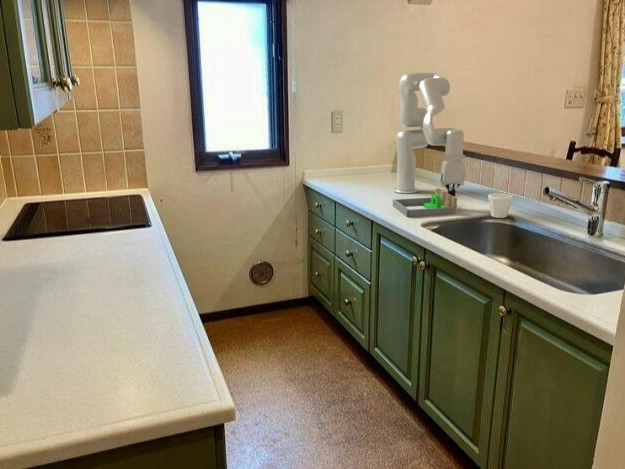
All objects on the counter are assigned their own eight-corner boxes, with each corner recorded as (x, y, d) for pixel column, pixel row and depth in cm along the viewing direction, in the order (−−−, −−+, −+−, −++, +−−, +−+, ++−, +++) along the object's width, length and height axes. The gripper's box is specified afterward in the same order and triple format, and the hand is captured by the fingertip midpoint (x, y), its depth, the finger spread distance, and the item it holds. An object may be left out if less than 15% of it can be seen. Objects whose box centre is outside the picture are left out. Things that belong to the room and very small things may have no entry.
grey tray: (392, 205, 247) (392, 199, 246) (434, 203, 250) (435, 197, 249) (407, 217, 227) (407, 210, 226) (452, 214, 230) (453, 207, 229)
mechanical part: (448, 212, 233) (449, 195, 231) (436, 213, 232) (437, 196, 230) (435, 206, 245) (436, 189, 242) (423, 207, 243) (424, 190, 241)
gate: (434, 202, 250) (435, 188, 248) (437, 202, 250) (438, 188, 248) (452, 213, 230) (453, 198, 228) (456, 213, 230) (457, 198, 228)
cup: (516, 217, 223) (518, 196, 220) (500, 221, 218) (502, 199, 215) (497, 212, 231) (499, 191, 229) (481, 216, 226) (483, 194, 224)
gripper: (465, 156, 239) (462, 195, 244) (434, 157, 236) (432, 197, 241) (473, 158, 231) (470, 199, 237) (441, 160, 229) (439, 201, 234)
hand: (451, 198), depth 239 cm, fingers closed
